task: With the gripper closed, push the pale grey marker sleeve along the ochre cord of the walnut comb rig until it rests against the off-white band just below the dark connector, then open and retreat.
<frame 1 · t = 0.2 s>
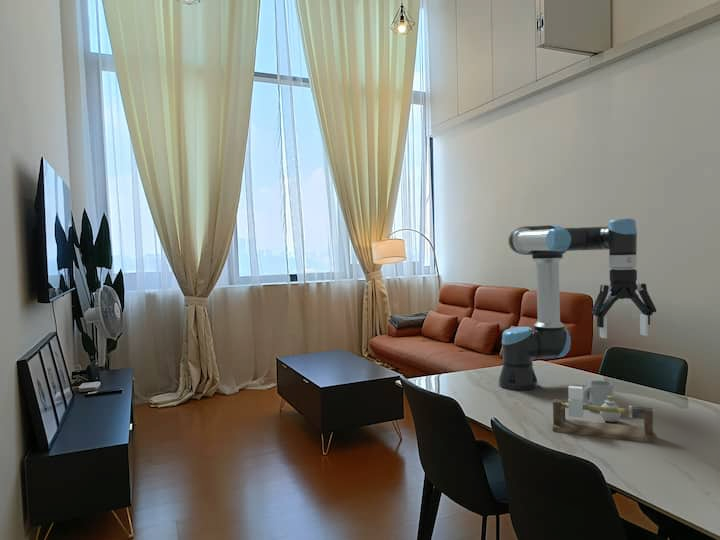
hand: (623, 336, 156), 28 cm above the table, fingers open, 13 cm apart
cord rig: (601, 431, 152), on the table
sleeve: (575, 400, 155), point 9 cm above the table, slide at 0.0 cm
ornament: (608, 421, 160), on the table
cup: (597, 409, 173), on the table
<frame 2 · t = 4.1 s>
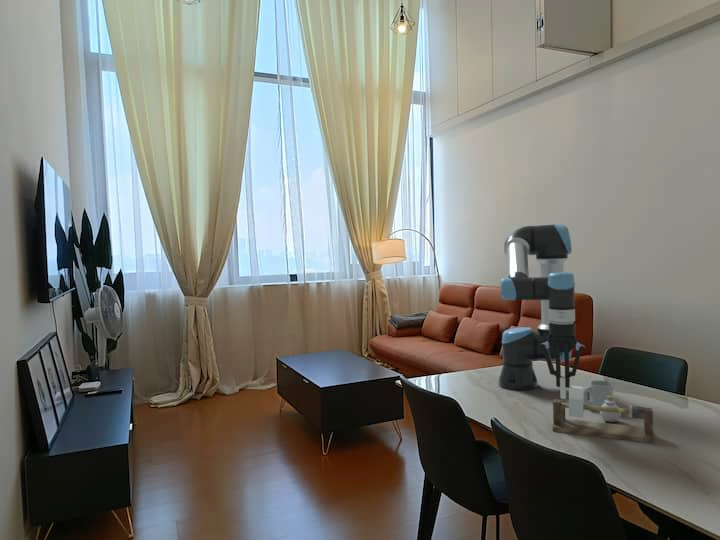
hand: (563, 397, 156), 10 cm above the table, fingers closed
sleeve: (576, 400, 155), point 9 cm above the table, slide at 0.1 cm, touching gripper
everything else where it was.
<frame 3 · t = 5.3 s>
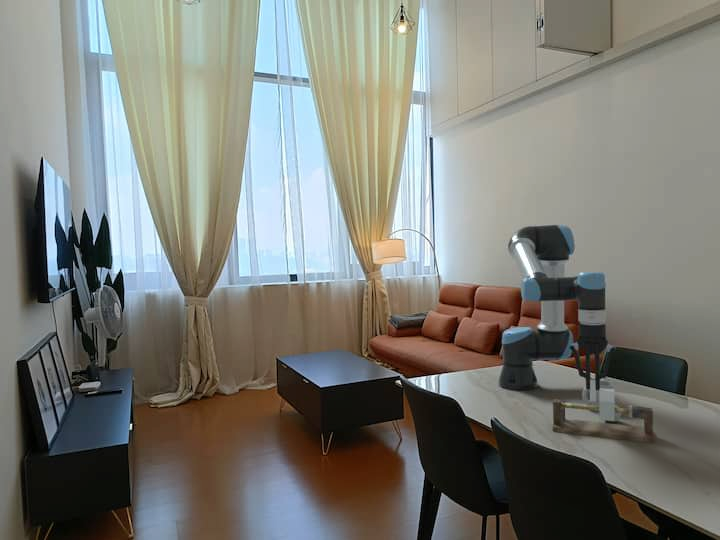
hand: (593, 399, 152), 10 cm above the table, fingers closed
sleeve: (606, 403, 151), point 9 cm above the table, slide at 8.6 cm, touching gripper
everything else where it was.
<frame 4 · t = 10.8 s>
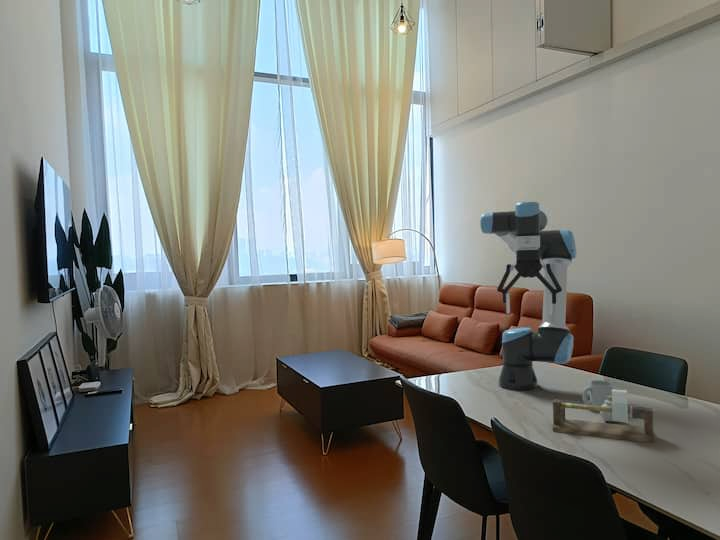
hand: (529, 313, 165), 35 cm above the table, fingers open, 13 cm apart
sleeve: (619, 404, 149), point 9 cm above the table, slide at 12.0 cm
everything else where it was.
at the end: sleeve slide at 12.0 cm; the gripper is holding nothing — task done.
